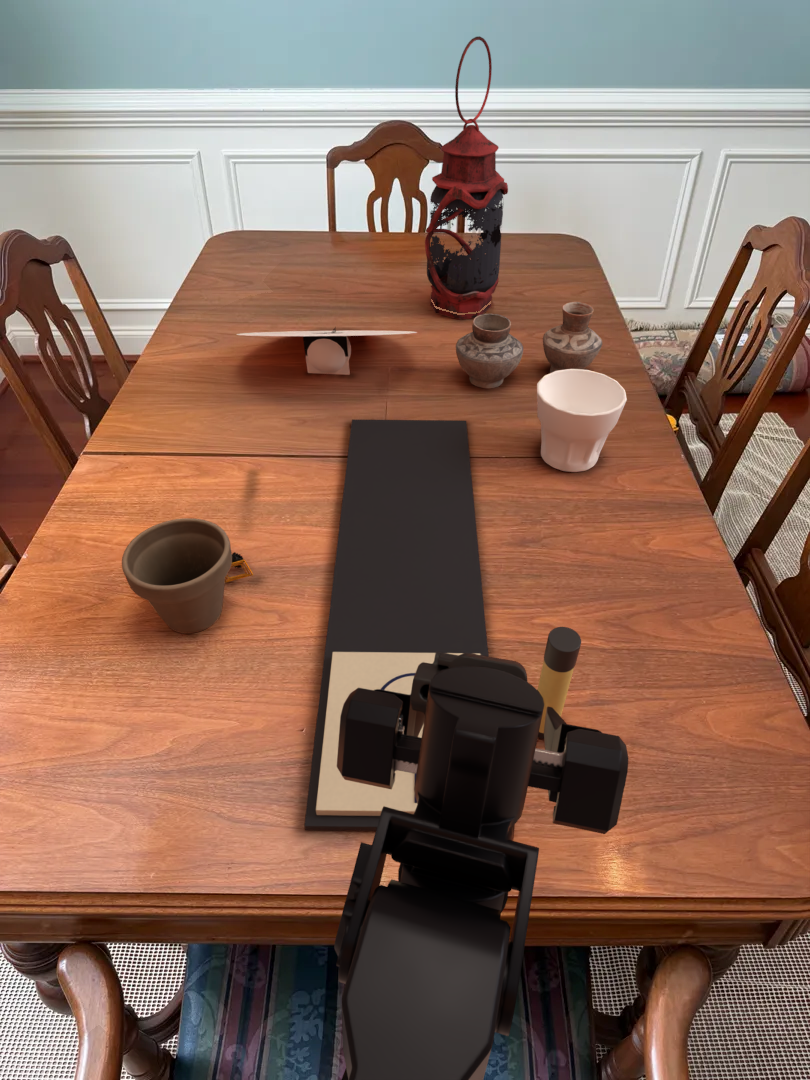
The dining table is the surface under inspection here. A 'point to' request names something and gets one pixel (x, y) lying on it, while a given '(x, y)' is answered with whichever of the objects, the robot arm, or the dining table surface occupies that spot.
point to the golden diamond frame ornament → (238, 563)
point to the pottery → (500, 353)
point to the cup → (577, 416)
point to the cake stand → (327, 347)
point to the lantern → (476, 190)
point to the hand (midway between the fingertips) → (489, 701)
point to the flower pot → (180, 571)
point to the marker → (557, 669)
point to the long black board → (394, 592)
